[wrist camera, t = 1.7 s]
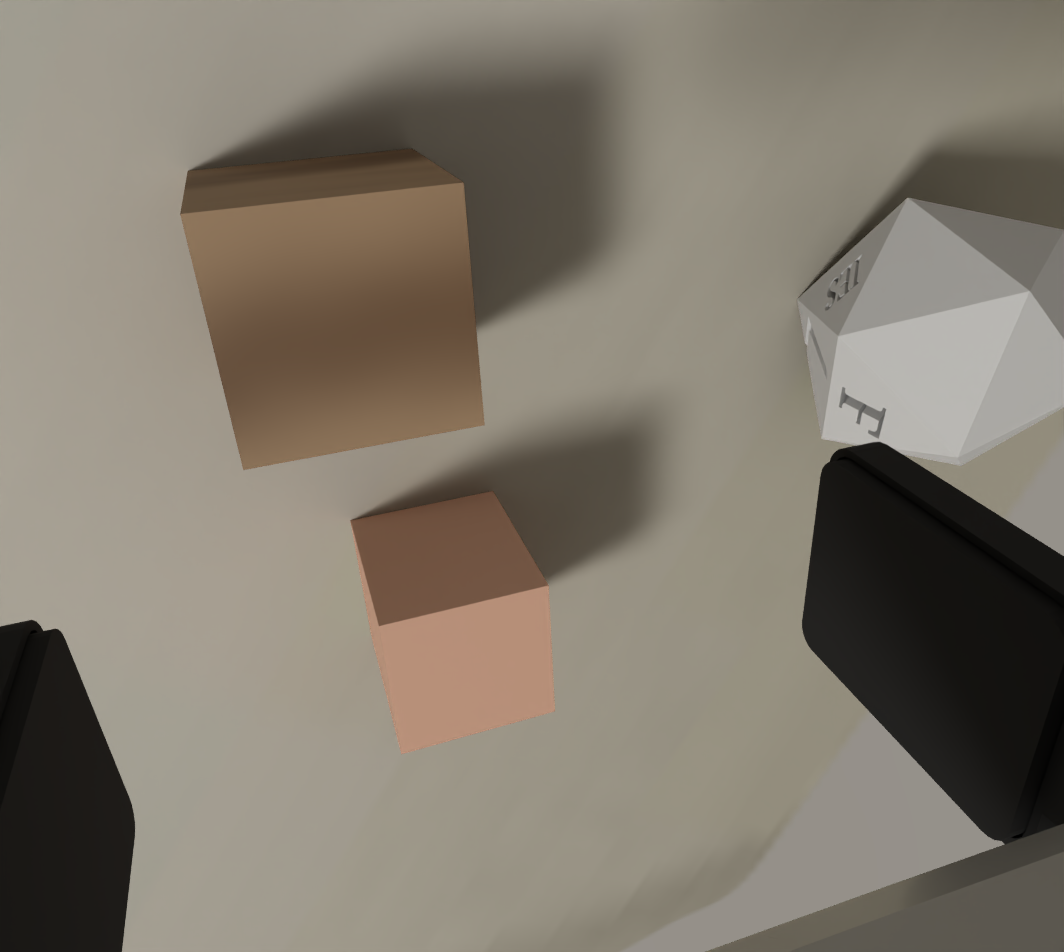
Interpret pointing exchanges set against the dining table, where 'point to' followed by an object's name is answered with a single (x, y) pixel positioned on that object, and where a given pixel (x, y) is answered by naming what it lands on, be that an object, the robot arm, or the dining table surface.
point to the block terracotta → (455, 619)
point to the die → (938, 333)
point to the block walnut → (336, 301)
